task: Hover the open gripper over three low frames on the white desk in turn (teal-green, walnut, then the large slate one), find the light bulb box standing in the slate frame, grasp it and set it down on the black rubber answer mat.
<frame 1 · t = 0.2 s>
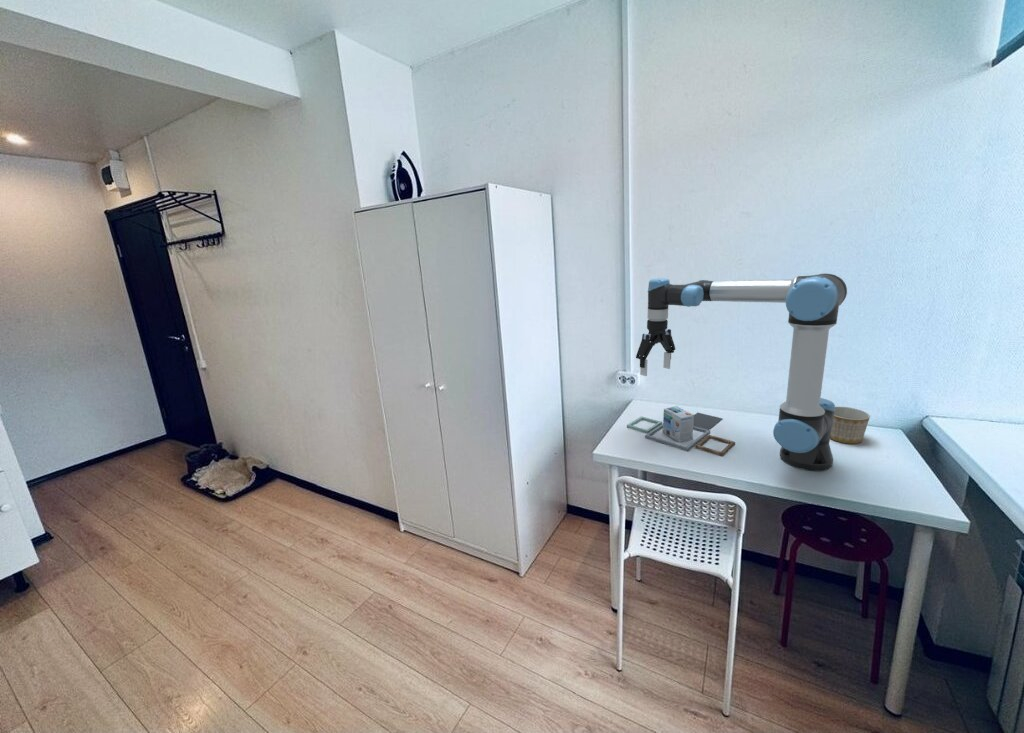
hand: (655, 371, 164), 27 cm above the table, fingers open, 13 cm apart
slate frame: (677, 435, 168), on the table
walnut frame: (715, 446, 157), on the table
answer mat: (702, 421, 178), on the table
planter: (843, 438, 156), on the table
teal frame: (644, 425, 179), on the table
light bulb box: (677, 436, 168), resting in slate frame
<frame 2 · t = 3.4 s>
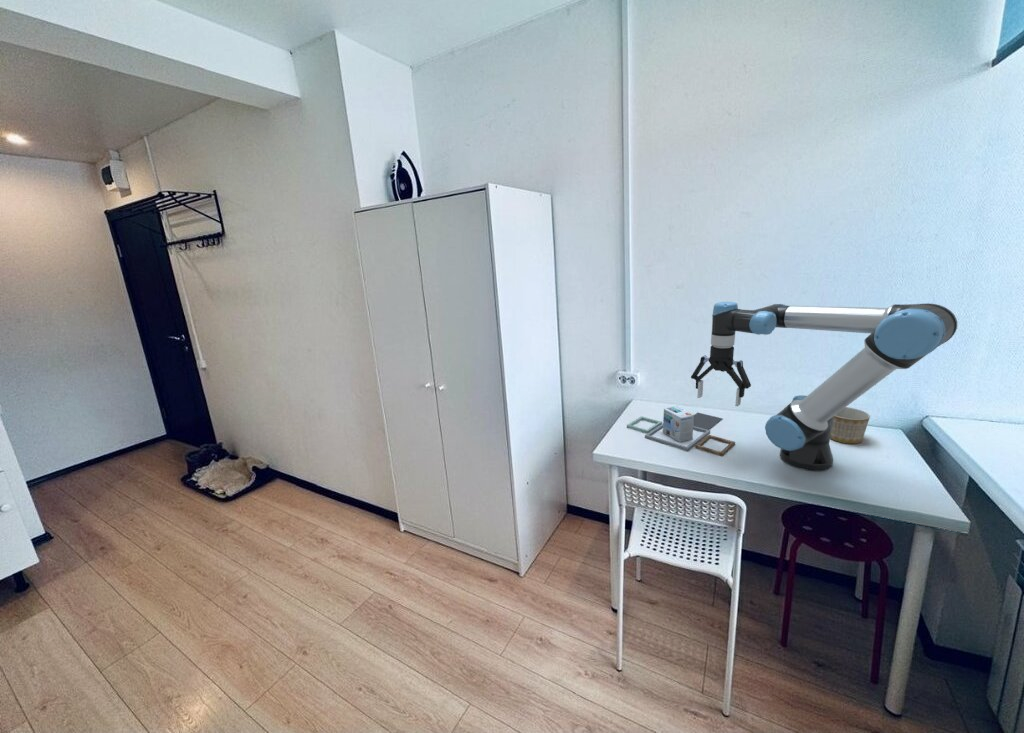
hand: (718, 401, 152), 19 cm above the table, fingers open, 13 cm apart
nothing on the table moved.
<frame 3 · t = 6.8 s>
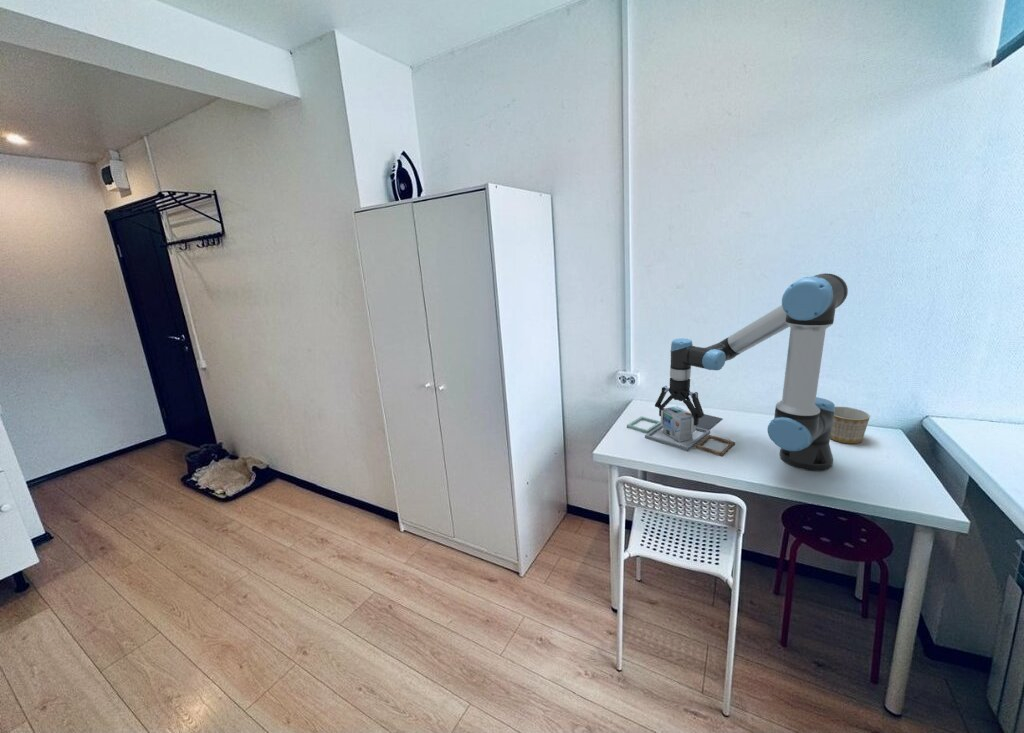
hand: (677, 427, 167), 3 cm above the table, fingers closed on light bulb box, 12 cm apart
light bulb box: (677, 436, 168), resting in slate frame, touching gripper
everything else where it was.
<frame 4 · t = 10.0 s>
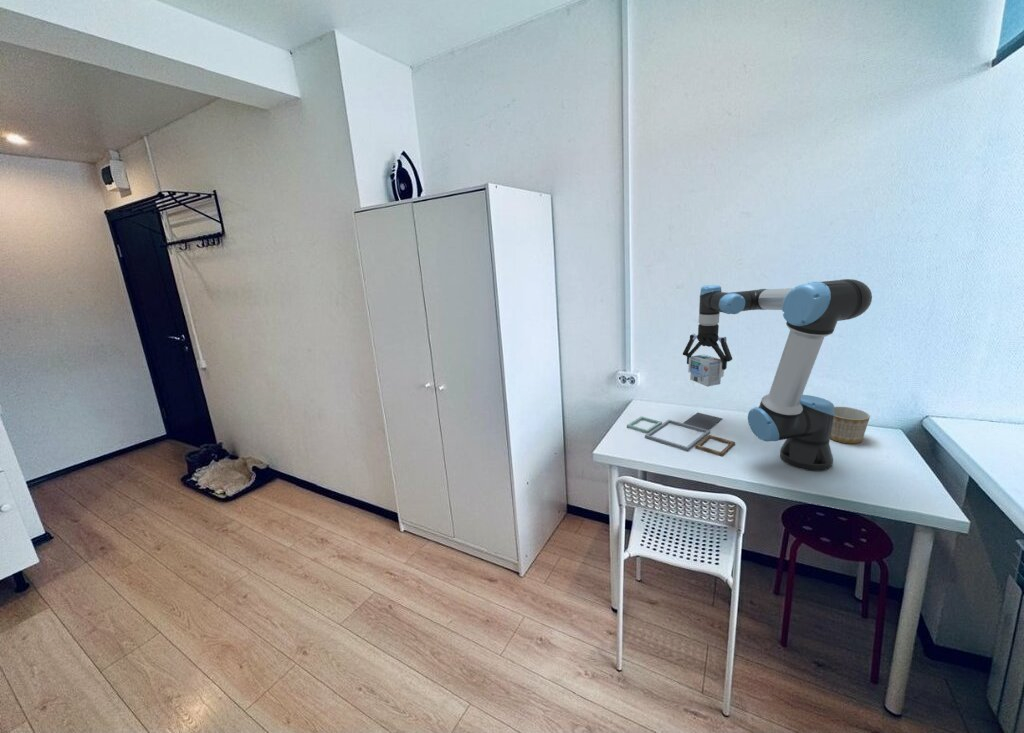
hand: (705, 374, 172), 22 cm above the table, fingers closed on light bulb box, 12 cm apart
light bulb box: (704, 382, 173), point 18 cm above the table, touching gripper
everything else where it was.
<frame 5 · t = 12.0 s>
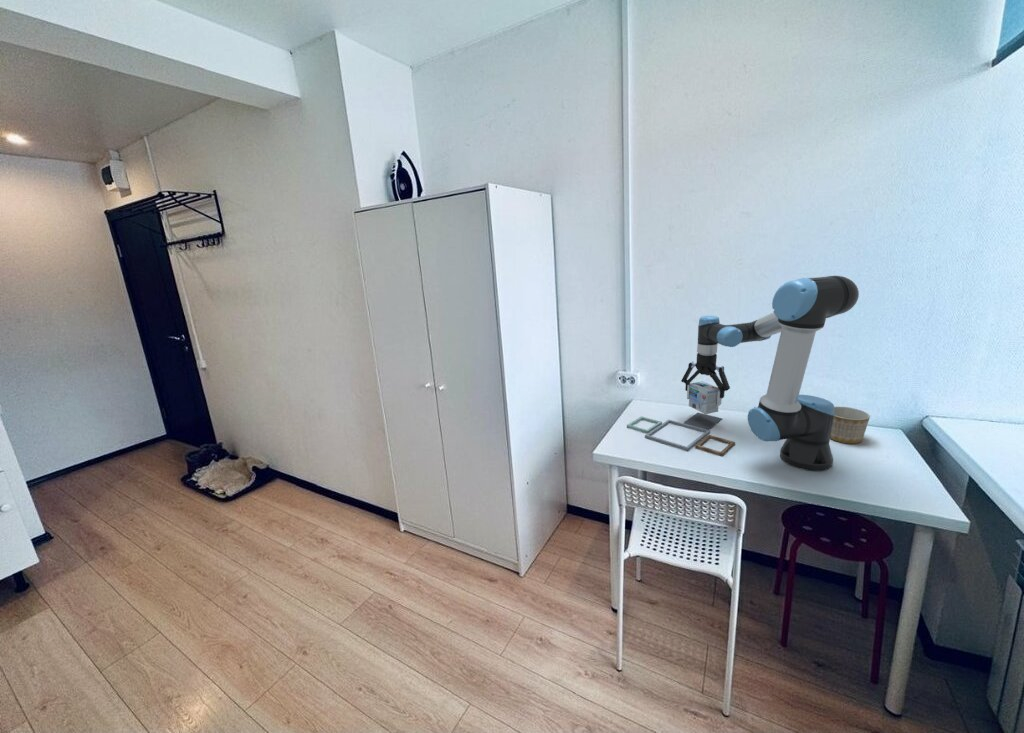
hand: (703, 401, 176), 9 cm above the table, fingers closed on light bulb box, 12 cm apart
light bulb box: (703, 409, 177), point 6 cm above the table, touching gripper
everything else where it was.
when the fingers open (5 cm above the table, at t = 13.6 s): light bulb box drops 1 cm, resting on answer mat.
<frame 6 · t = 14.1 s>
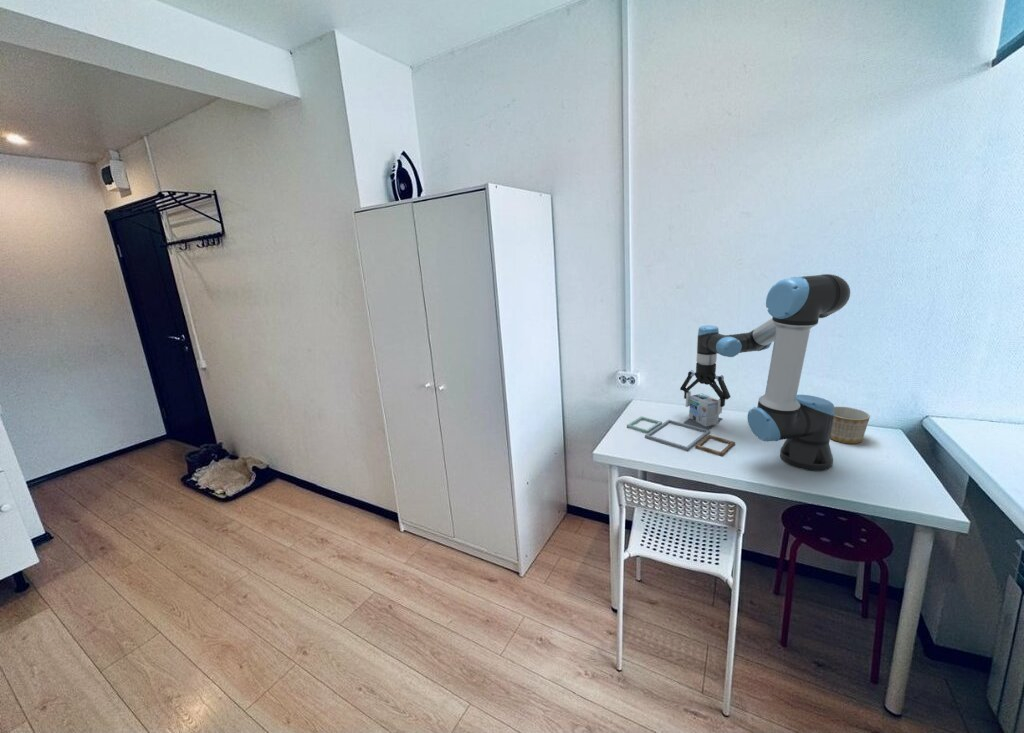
hand: (703, 409, 177), 6 cm above the table, fingers open, 13 cm apart
light bulb box: (703, 421, 178), resting on answer mat
everything else where it was.
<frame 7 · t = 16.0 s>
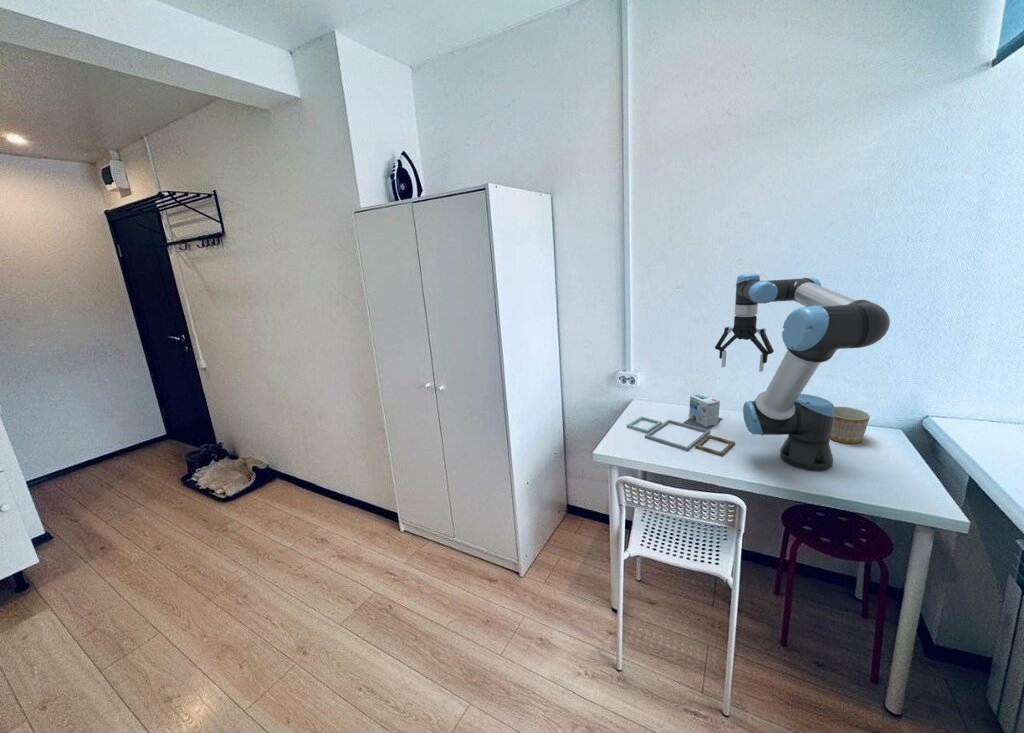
hand: (741, 368, 162), 26 cm above the table, fingers open, 13 cm apart
nothing on the table moved.
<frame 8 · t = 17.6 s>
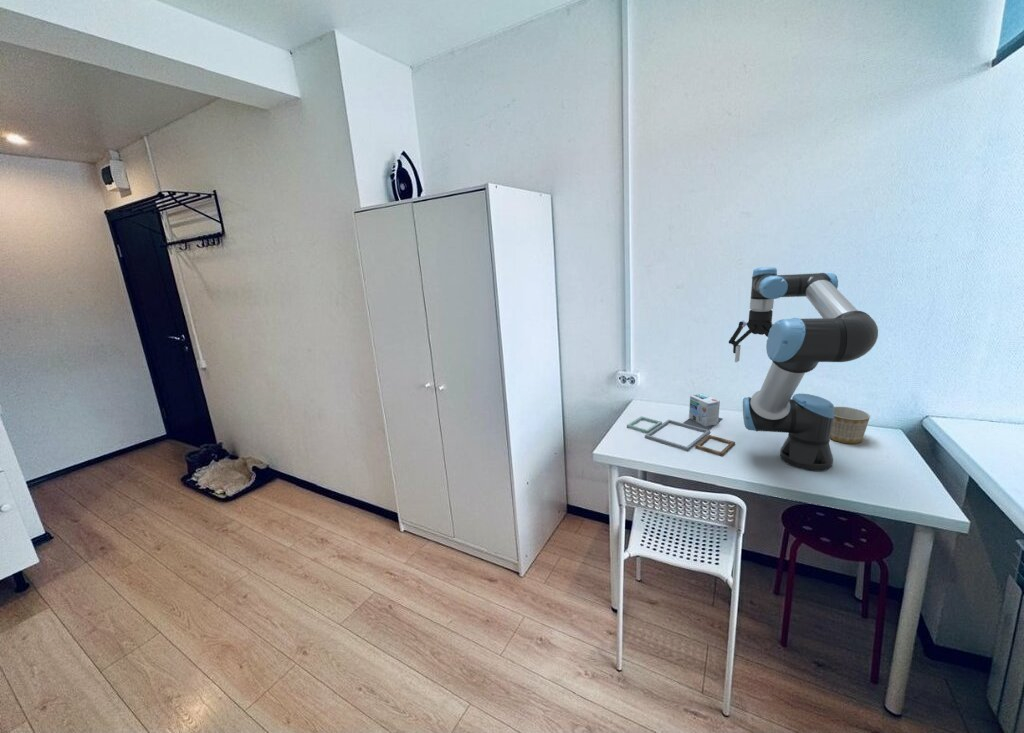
hand: (755, 364, 159), 29 cm above the table, fingers open, 13 cm apart
nothing on the table moved.
at the end: light bulb box 0.3 cm from the answer mat (horizontally); light bulb box tilted 0°; the gripper is holding nothing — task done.
